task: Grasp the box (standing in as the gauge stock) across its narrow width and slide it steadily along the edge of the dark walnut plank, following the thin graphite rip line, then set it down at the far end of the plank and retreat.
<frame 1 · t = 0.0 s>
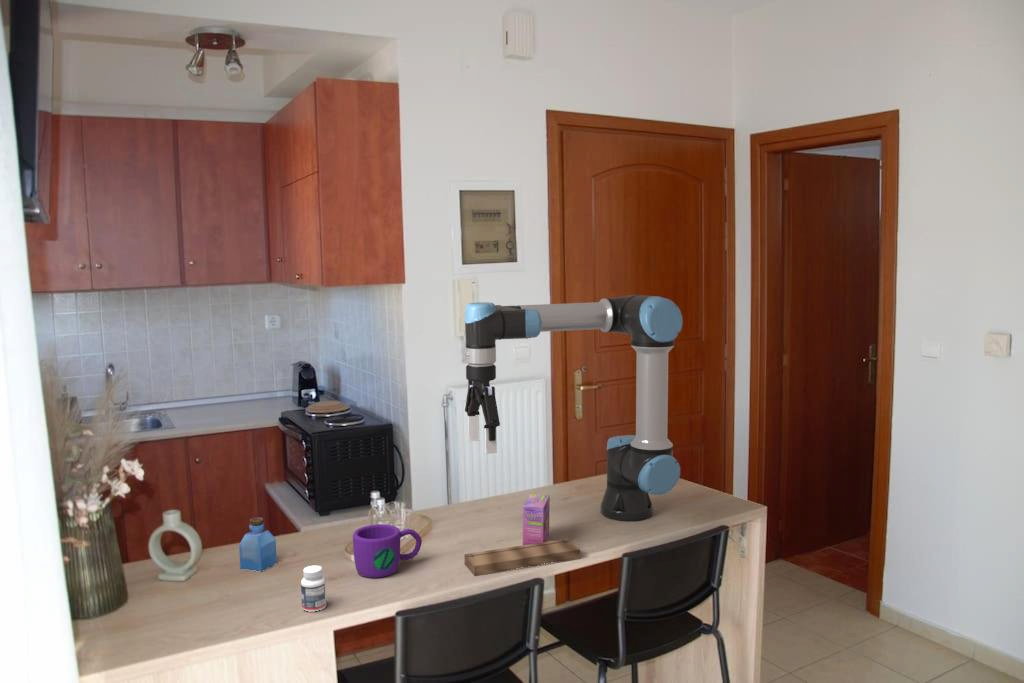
hand: (482, 446, 203), 28 cm above the counter, fingers open, 13 cm apart
pill bottle: (314, 608, 176), on the counter
plank: (522, 561, 200), on the counter
box: (536, 544, 212), on the counter
mug: (389, 569, 197), on the counter
perfume bottle: (258, 566, 199), on the counter
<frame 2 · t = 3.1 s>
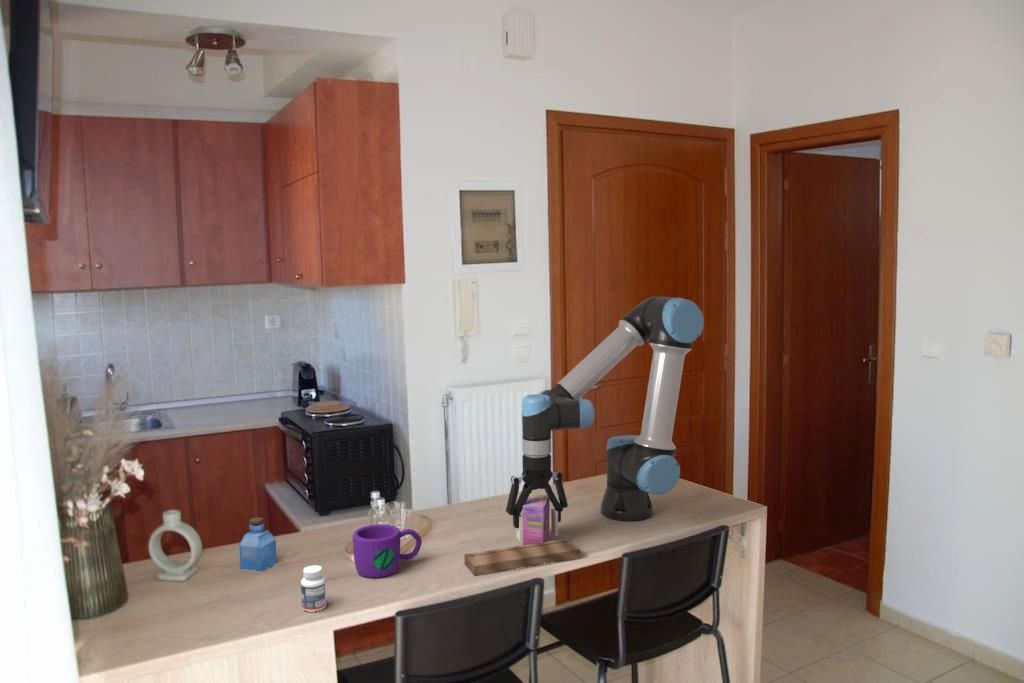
hand: (537, 536, 211), 2 cm above the counter, fingers open, 9 cm apart
box: (536, 544, 212), on the counter, touching gripper
everything else where it was.
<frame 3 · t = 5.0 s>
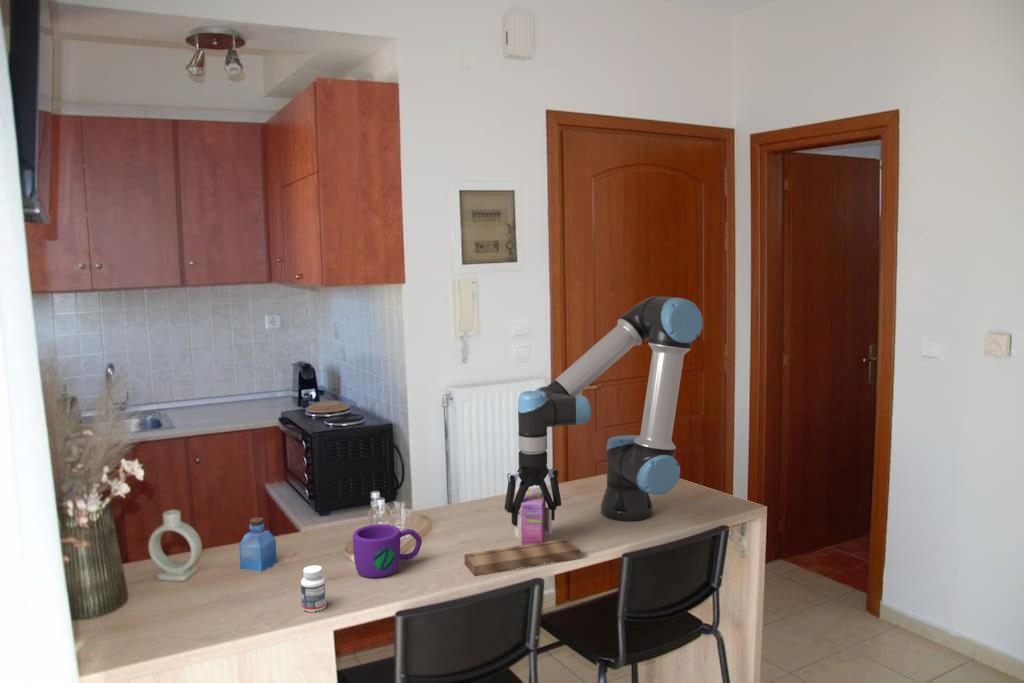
hand: (533, 534, 211), 3 cm above the counter, fingers closed on box, 8 cm apart
box: (534, 541, 212), on the counter, touching gripper
everything else where it was.
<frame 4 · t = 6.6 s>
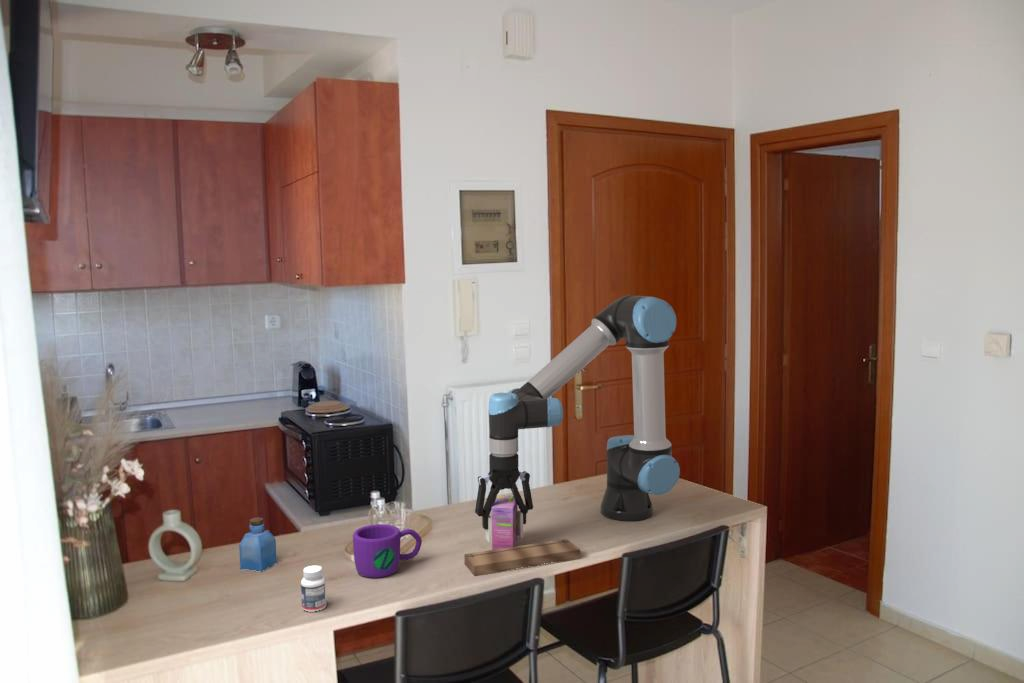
hand: (504, 538, 208), 3 cm above the counter, fingers closed on box, 8 cm apart
box: (505, 545, 209), point 1 cm above the counter, touching gripper
everything else where it was.
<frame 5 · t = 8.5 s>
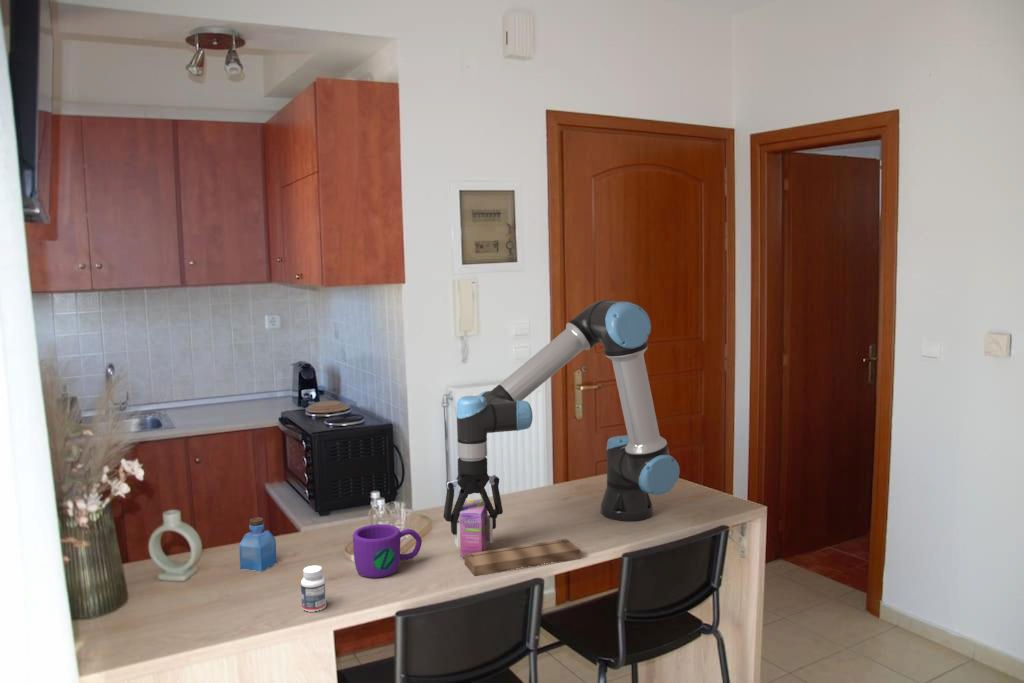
hand: (473, 543, 205), 3 cm above the counter, fingers closed on box, 8 cm apart
box: (474, 551, 206), on the counter, touching gripper
everything else where it was.
when the fingers open (3 cm above the counter, at t = 9.8 s): box moves 2 cm, on the counter.
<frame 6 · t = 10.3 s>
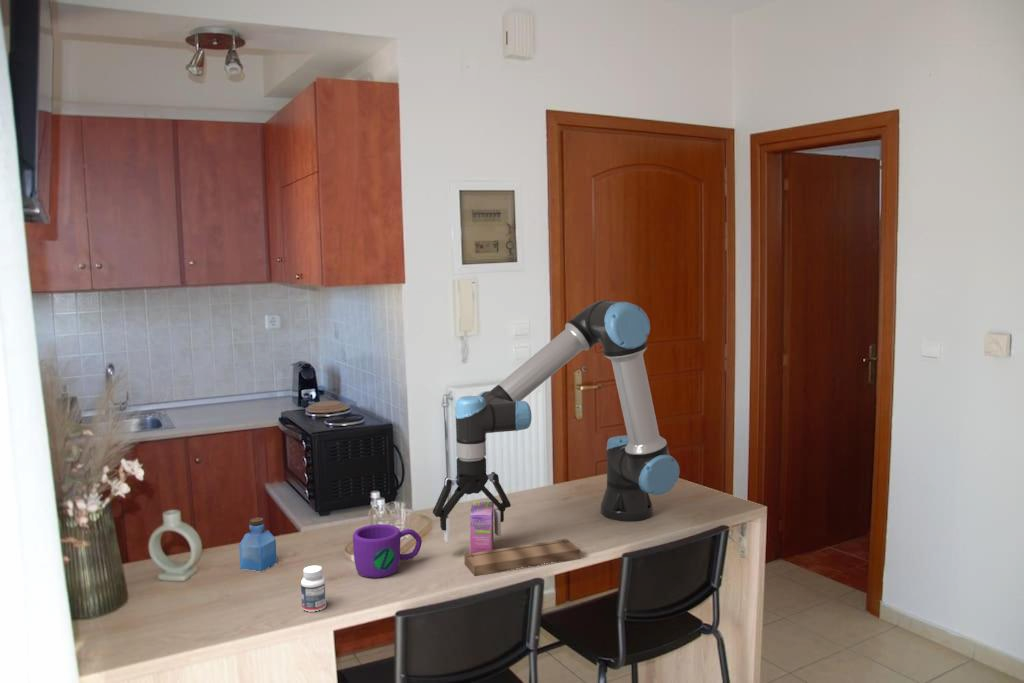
hand: (472, 538, 205), 4 cm above the counter, fingers open, 13 cm apart
box: (482, 552, 207), on the counter
everything else where it was.
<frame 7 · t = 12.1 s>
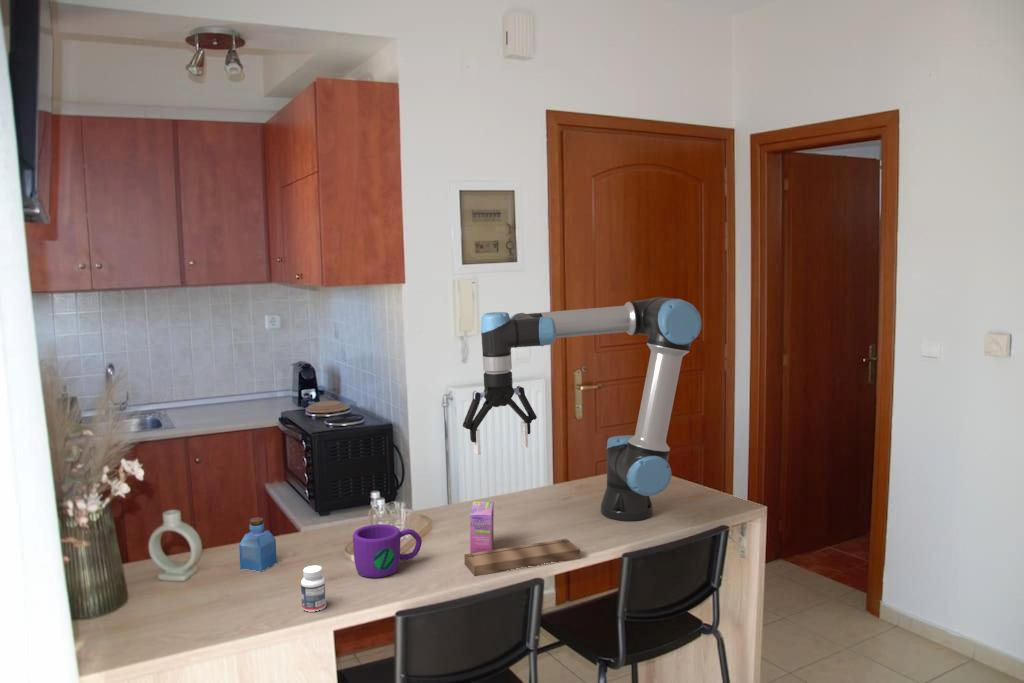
hand: (501, 450, 212), 25 cm above the counter, fingers open, 13 cm apart
nothing on the counter moved.
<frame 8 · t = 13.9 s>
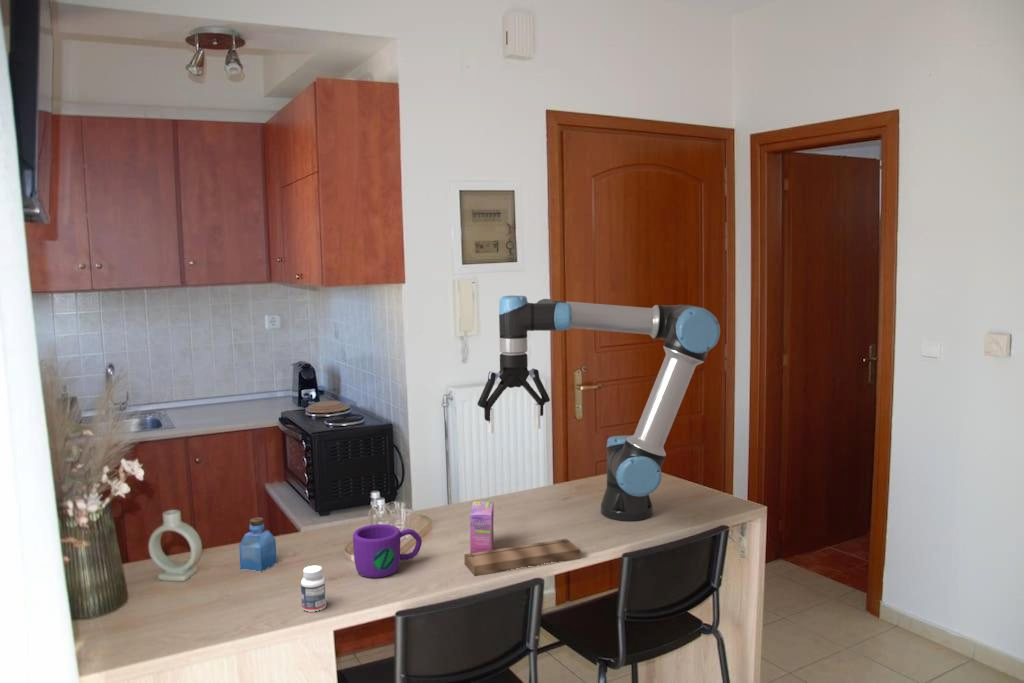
hand: (514, 430, 218), 29 cm above the counter, fingers open, 13 cm apart
nothing on the counter moved.
at the end: box inside the target area (3.2 cm from its centre), on the counter; box tilted 0°; the gripper is holding nothing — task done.
